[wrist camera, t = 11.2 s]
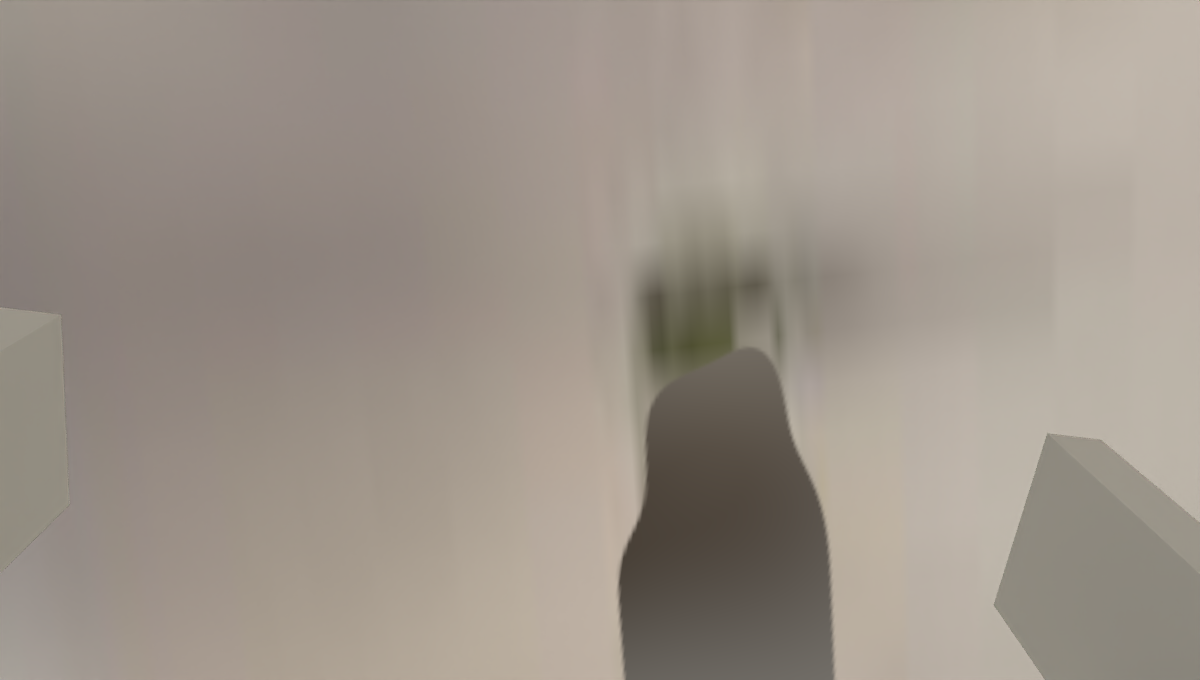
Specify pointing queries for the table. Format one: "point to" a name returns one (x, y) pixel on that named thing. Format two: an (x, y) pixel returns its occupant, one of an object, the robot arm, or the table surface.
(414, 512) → the table surface
